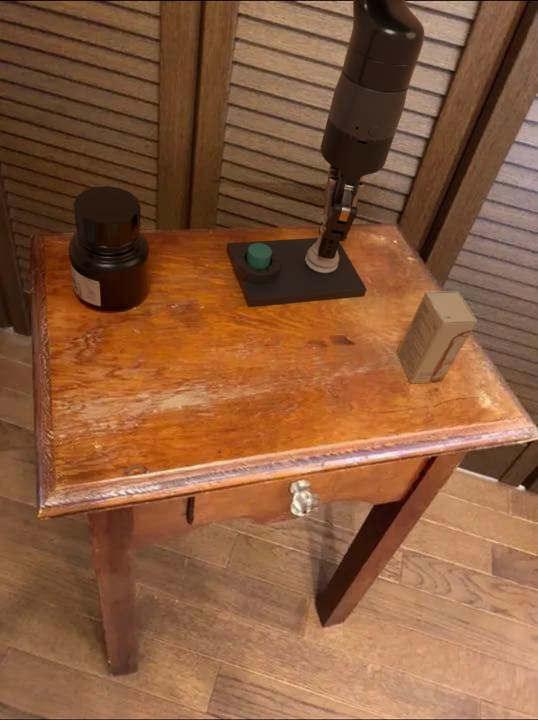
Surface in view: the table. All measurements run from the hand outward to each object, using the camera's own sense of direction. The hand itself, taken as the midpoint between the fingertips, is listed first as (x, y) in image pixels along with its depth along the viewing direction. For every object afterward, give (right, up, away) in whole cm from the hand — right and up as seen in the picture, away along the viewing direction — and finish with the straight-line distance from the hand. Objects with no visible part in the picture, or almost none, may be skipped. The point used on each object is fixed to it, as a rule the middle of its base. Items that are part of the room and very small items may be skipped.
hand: (326, 245), depth 76 cm
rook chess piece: (-1, -2, +2) cm, 3 cm away
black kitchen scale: (-4, -3, +2) cm, 6 cm away
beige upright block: (+11, -16, -5) cm, 20 cm away
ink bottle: (-26, -6, -5) cm, 28 cm away
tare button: (-9, -2, -1) cm, 9 cm away
